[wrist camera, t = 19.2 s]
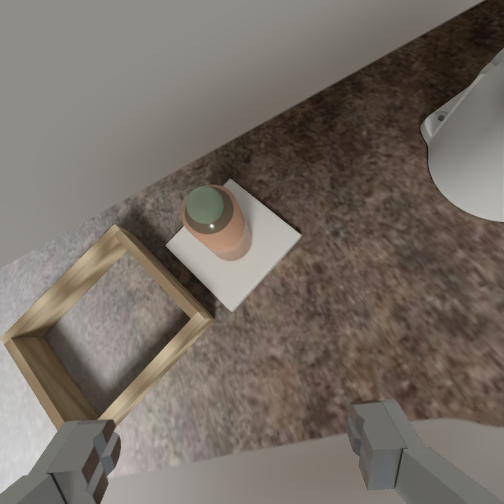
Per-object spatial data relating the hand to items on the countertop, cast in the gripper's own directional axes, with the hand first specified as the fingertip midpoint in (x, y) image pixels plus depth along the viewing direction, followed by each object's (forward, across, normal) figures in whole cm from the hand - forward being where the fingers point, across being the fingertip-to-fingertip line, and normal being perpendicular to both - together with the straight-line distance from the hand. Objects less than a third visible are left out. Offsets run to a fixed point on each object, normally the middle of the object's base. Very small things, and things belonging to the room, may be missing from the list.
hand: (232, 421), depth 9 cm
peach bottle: (+24, +1, +1) cm, 24 cm away
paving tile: (+25, +1, +2) cm, 25 cm away
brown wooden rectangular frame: (+21, +16, +10) cm, 28 cm away
